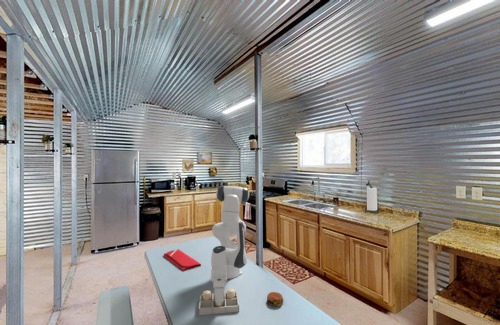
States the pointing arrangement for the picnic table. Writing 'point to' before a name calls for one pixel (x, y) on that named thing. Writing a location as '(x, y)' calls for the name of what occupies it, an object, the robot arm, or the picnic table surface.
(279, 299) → the burger
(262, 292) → the picnic table surface
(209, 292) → the egg
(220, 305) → the egg
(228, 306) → the carton
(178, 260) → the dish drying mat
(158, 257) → the picnic table surface
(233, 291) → the egg
